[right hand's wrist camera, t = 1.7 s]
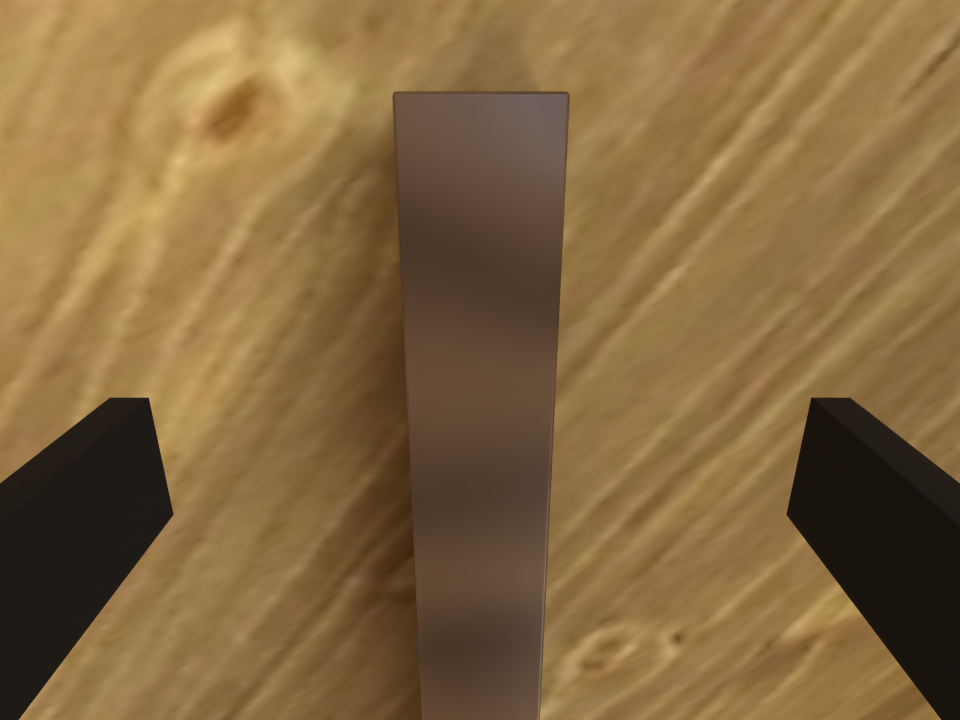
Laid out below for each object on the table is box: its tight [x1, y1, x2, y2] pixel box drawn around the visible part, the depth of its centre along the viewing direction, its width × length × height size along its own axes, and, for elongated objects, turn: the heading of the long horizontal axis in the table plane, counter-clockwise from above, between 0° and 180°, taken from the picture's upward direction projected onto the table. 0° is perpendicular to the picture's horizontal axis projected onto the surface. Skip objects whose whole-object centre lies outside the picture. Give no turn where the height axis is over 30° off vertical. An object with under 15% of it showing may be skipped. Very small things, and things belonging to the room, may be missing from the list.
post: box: [392, 92, 570, 720], centre depth 30 cm, size 54×5×7 cm, turn 0°
